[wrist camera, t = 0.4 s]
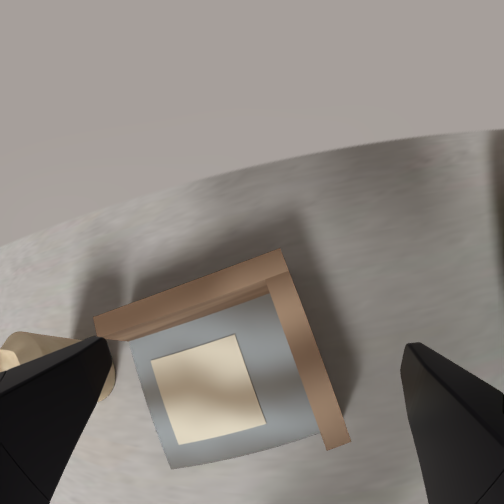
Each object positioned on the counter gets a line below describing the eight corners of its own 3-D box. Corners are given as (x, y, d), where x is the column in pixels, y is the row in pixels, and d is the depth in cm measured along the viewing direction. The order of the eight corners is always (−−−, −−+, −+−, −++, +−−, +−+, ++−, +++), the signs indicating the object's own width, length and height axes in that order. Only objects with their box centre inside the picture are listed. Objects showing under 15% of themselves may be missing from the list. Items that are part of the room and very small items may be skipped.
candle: (60, 357, 25) (-22, 349, 15) (99, 330, 25) (15, 313, 15) (84, 411, 23) (2, 423, 13) (126, 387, 23) (43, 397, 14)
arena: (340, 423, 20) (351, 441, 15) (173, 467, 21) (146, 488, 16) (284, 268, 24) (280, 248, 20) (127, 324, 25) (93, 317, 20)
